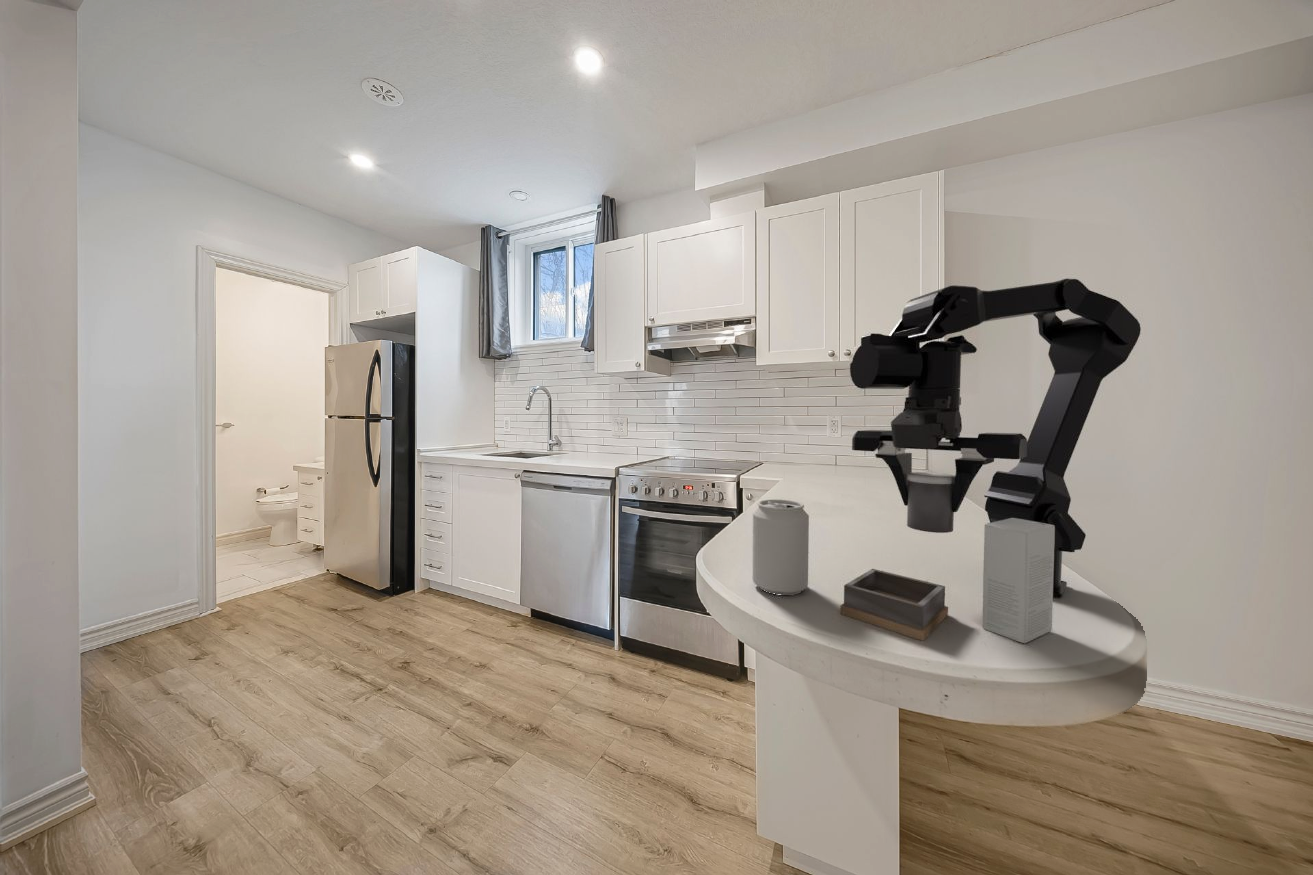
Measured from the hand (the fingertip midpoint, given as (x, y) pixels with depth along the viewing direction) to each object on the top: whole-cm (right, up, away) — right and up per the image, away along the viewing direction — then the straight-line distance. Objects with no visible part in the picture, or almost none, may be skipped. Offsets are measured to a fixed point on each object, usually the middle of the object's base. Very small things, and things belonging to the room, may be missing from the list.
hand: (930, 508), depth 59 cm
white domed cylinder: (0, -3, 0) cm, 3 cm away
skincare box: (+4, -12, -9) cm, 16 cm away
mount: (-8, -12, -5) cm, 15 cm away
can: (-19, -12, +3) cm, 22 cm away
